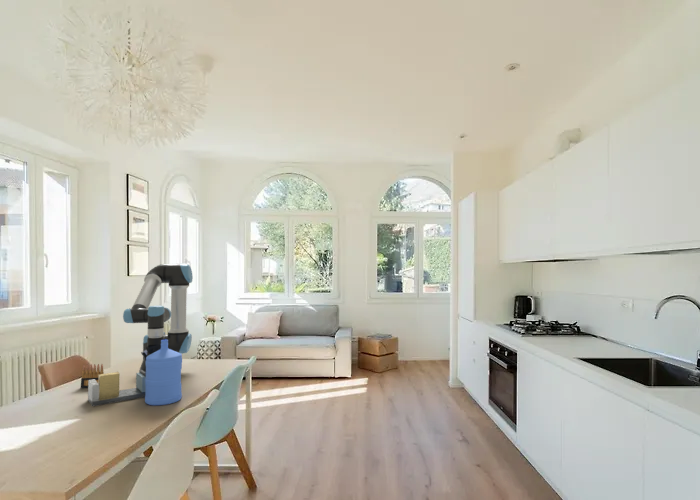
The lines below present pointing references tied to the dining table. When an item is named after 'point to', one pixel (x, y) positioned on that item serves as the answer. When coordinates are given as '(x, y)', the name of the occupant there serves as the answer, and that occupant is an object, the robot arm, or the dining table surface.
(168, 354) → the water jug
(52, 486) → the dining table surface
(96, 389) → the grey l-shaped bracket
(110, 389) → the brass block
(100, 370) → the ammunition clip
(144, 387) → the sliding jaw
